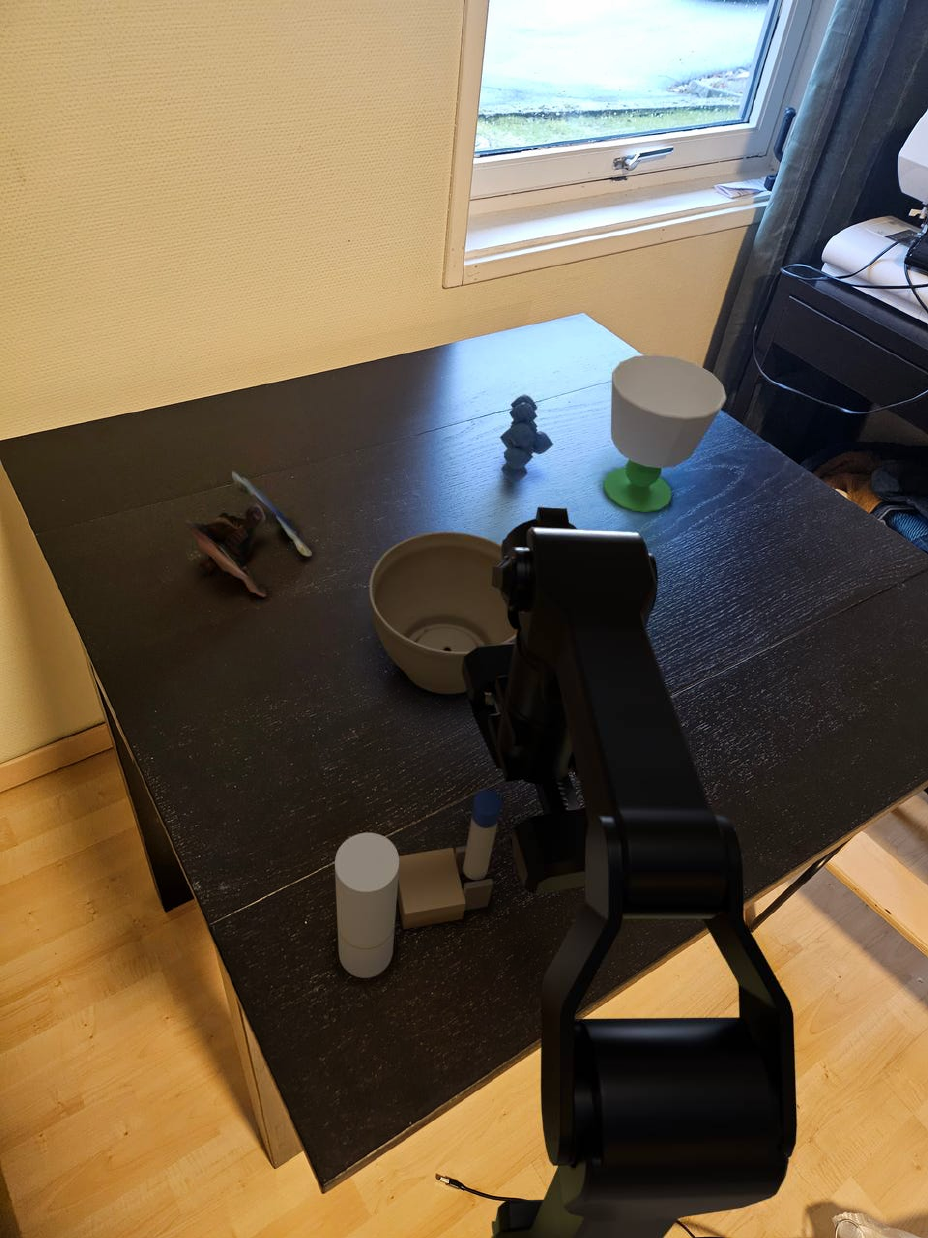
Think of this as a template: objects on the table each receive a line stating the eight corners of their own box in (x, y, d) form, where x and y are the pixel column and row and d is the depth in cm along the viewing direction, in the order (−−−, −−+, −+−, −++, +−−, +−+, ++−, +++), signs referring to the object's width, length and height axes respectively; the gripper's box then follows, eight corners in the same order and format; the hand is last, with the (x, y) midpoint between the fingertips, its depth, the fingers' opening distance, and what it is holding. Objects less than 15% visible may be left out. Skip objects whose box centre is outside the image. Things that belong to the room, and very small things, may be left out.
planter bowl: (339, 685, 86) (337, 611, 78) (411, 586, 97) (416, 512, 89) (485, 748, 83) (498, 677, 75) (543, 637, 93) (561, 565, 85)
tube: (368, 989, 66) (369, 904, 55) (327, 954, 68) (321, 865, 57) (403, 946, 69) (412, 857, 58) (363, 914, 70) (364, 821, 59)
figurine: (311, 556, 105) (231, 486, 102) (343, 519, 98) (258, 444, 96) (241, 633, 94) (150, 556, 92) (272, 597, 88) (175, 514, 86)
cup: (672, 458, 118) (706, 354, 106) (702, 524, 109) (743, 418, 97) (575, 458, 116) (600, 352, 104) (598, 525, 107) (627, 417, 95)
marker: (505, 812, 62) (477, 817, 61) (490, 878, 70) (465, 883, 69) (498, 788, 63) (470, 792, 63) (484, 855, 71) (459, 859, 71)
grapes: (543, 510, 108) (559, 430, 99) (490, 503, 108) (502, 422, 99) (547, 456, 116) (562, 377, 107) (497, 449, 116) (509, 370, 107)
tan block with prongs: (489, 914, 71) (495, 891, 68) (403, 930, 70) (405, 907, 67) (475, 859, 74) (481, 835, 71) (393, 873, 73) (394, 849, 70)
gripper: (730, 800, 49) (660, 914, 61) (620, 575, 62) (579, 706, 73) (547, 830, 47) (510, 944, 58) (470, 590, 59) (452, 723, 71)
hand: (517, 817), depth 65 cm, fingers open, 9 cm apart
